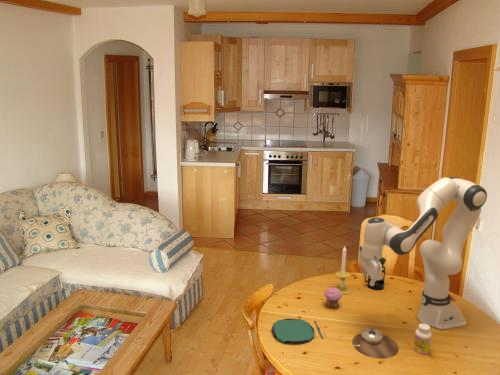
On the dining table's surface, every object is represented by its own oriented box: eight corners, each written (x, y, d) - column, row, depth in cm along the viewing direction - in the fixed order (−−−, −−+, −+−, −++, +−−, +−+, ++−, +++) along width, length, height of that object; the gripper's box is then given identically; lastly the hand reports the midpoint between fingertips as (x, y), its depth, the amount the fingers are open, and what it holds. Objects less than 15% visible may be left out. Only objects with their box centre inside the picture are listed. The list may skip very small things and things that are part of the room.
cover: (377, 333, 211) (378, 327, 210) (385, 344, 202) (385, 338, 201) (358, 333, 210) (359, 327, 209) (365, 345, 201) (365, 338, 201)
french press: (383, 283, 264) (386, 246, 259) (387, 290, 255) (390, 252, 249) (362, 282, 265) (365, 245, 259) (365, 290, 256) (368, 251, 250)
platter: (388, 333, 212) (388, 331, 212) (406, 359, 193) (406, 357, 193) (346, 334, 211) (346, 333, 210) (360, 361, 191) (360, 359, 191)
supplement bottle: (410, 352, 199) (413, 326, 196) (417, 346, 204) (420, 320, 200) (425, 359, 194) (428, 332, 191) (432, 352, 199) (435, 326, 196)
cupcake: (323, 309, 235) (324, 291, 232) (324, 301, 243) (324, 284, 240) (341, 311, 233) (342, 293, 231) (341, 302, 241) (342, 285, 239)
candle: (330, 286, 259) (332, 242, 253) (346, 285, 261) (349, 241, 254) (336, 295, 250) (339, 249, 243) (353, 293, 251) (357, 248, 245)
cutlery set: (268, 322, 222) (268, 318, 221) (328, 320, 225) (328, 316, 225) (275, 347, 203) (275, 342, 202) (340, 344, 206) (341, 339, 206)
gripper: (387, 262, 197) (382, 291, 201) (371, 244, 217) (367, 271, 220) (373, 261, 197) (369, 291, 200) (358, 244, 217) (354, 271, 220)
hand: (368, 280), depth 210 cm, fingers open, 8 cm apart
